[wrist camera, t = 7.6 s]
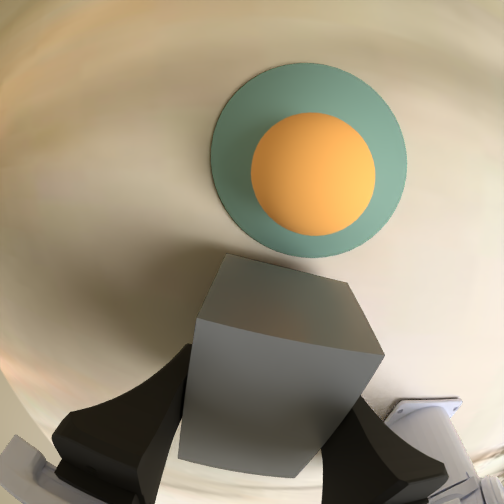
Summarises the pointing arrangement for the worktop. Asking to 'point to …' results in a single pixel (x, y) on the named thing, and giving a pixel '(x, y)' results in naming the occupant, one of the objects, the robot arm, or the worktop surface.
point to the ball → (313, 174)
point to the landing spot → (291, 103)
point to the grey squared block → (273, 368)
